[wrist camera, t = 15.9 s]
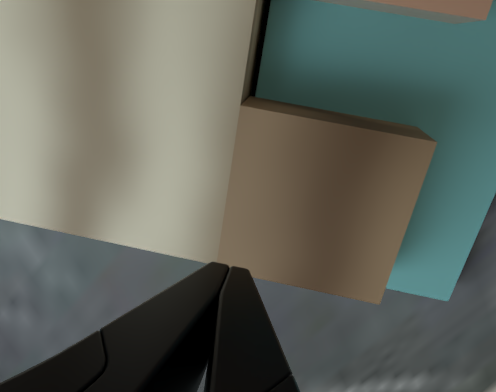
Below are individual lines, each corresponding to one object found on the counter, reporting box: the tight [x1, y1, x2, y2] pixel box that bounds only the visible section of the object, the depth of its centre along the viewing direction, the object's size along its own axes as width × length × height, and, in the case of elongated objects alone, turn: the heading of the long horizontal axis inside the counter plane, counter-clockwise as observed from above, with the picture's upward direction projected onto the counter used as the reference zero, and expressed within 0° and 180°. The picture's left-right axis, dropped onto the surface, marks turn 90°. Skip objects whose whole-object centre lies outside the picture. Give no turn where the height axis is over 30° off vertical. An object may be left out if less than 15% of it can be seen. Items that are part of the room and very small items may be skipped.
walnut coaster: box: [217, 96, 437, 305], centre depth 15 cm, size 6×6×2 cm
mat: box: [255, 0, 496, 301], centre depth 15 cm, size 10×19×1 cm, turn 171°
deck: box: [0, 0, 266, 263], centre depth 15 cm, size 12×18×3 cm, turn 171°
